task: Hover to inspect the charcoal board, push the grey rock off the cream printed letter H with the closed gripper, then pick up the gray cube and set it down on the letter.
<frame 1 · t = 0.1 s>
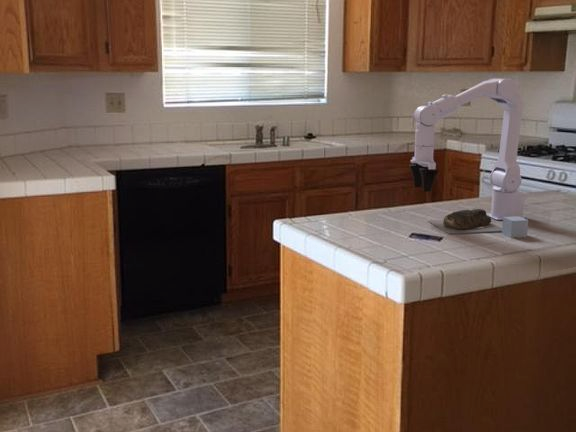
hand: (422, 189, 199), 10 cm above the worktop, tool pointing down, fingers open, 7 cm apart
gray cube: (514, 235, 184), on the worktop
rock: (466, 225, 194), resting on letter board
letter board: (466, 226, 194), on the worktop
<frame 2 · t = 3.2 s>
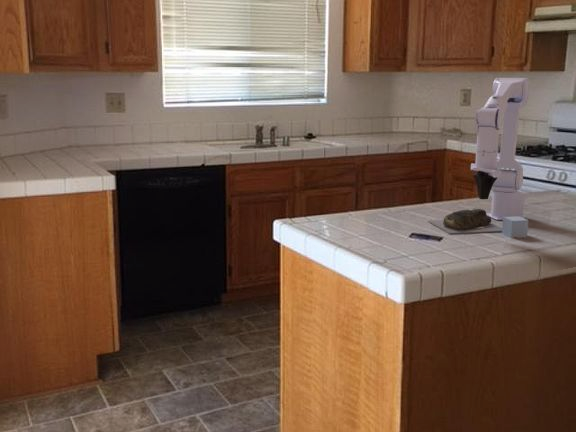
hand: (483, 198, 182), 10 cm above the worktop, tool pointing down, fingers closed
nothing on the worktop moved.
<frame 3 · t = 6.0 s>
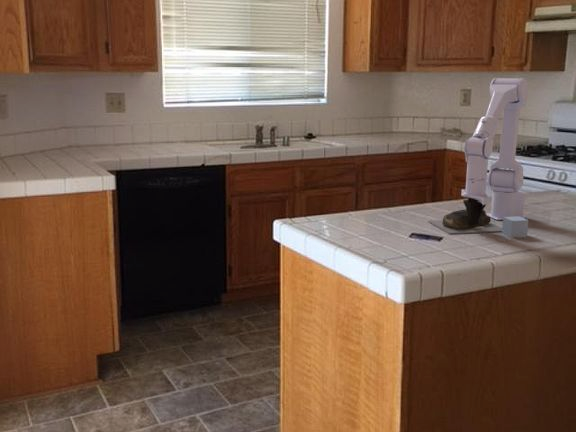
hand: (473, 224, 189), 2 cm above the worktop, tool pointing down, fingers closed
rock: (465, 225, 194), resting on letter board, touching gripper
everything else where it was.
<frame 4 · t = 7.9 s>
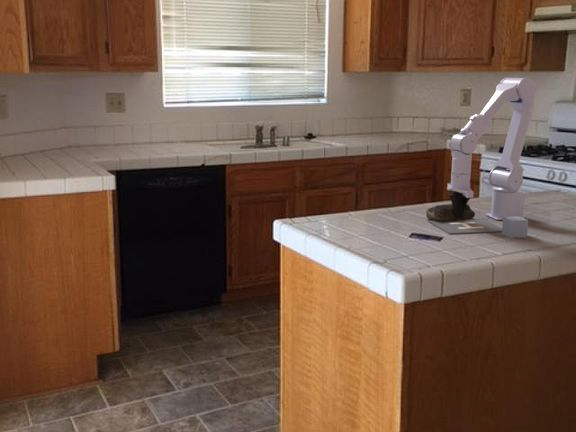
hand: (458, 216, 199), 2 cm above the worktop, tool pointing down, fingers closed
rock: (449, 219, 204), on the worktop, touching gripper
everything else where it was.
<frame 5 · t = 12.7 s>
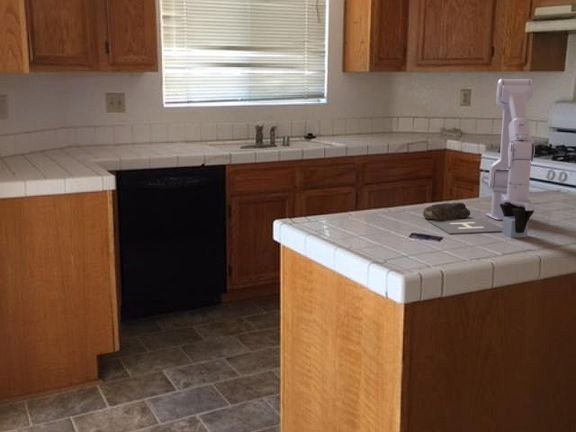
hand: (514, 230, 183), 1 cm above the worktop, tool pointing down, fingers closed on gray cube, 5 cm apart
gray cube: (514, 235, 184), on the worktop, touching gripper
rock: (446, 218, 205), on the worktop, touching letter board
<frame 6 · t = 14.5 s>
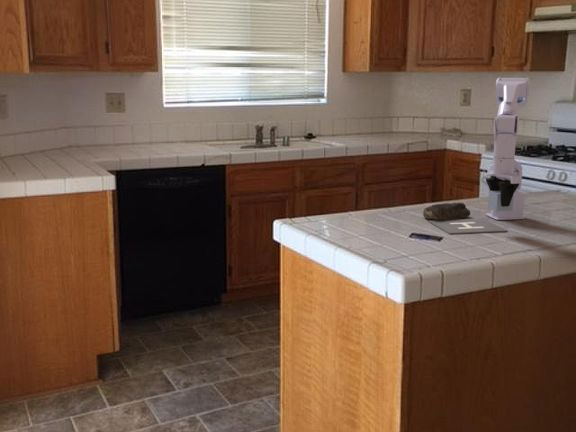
hand: (500, 204, 185), 8 cm above the worktop, tool pointing down, fingers closed on gray cube, 5 cm apart
gray cube: (500, 209, 186), point 7 cm above the worktop, touching gripper
everything else where it was.
when the fingers open (3 cm above the worktop, at t = 16.5 s): gray cube drops 2 cm, resting on letter board.
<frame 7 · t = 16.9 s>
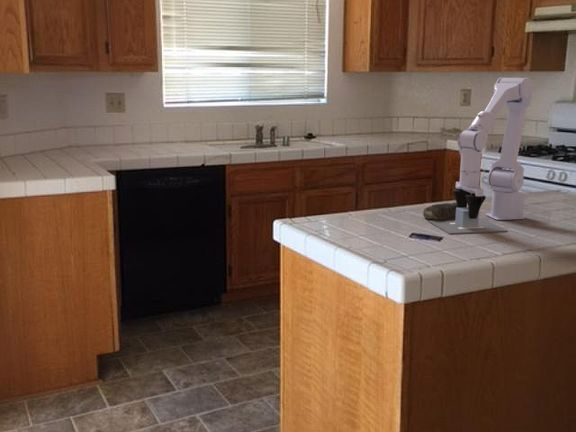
hand: (467, 215, 193), 3 cm above the worktop, tool pointing down, fingers open, 7 cm apart
gray cube: (466, 225, 194), resting on letter board
everything else where it was.
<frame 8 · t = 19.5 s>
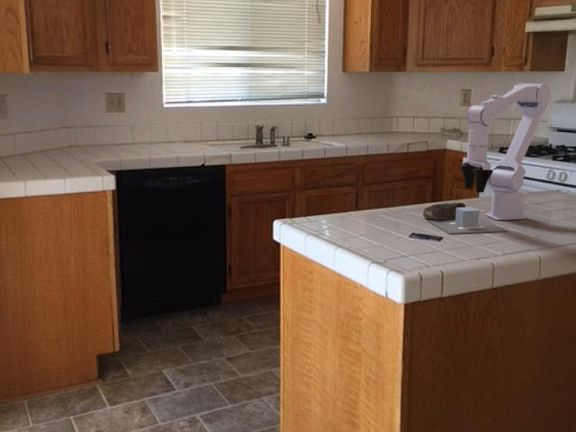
hand: (474, 190, 196), 10 cm above the worktop, tool pointing down, fingers open, 7 cm apart
nothing on the worktop moved.
at the end: gray cube 0.1 cm off-centre on the letter board, point 0.4 cm above the letter board's base; rock inside the target area on the worktop beside the letter board (12.4 cm from its centre), on the worktop; gray cube tilted 0° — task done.
